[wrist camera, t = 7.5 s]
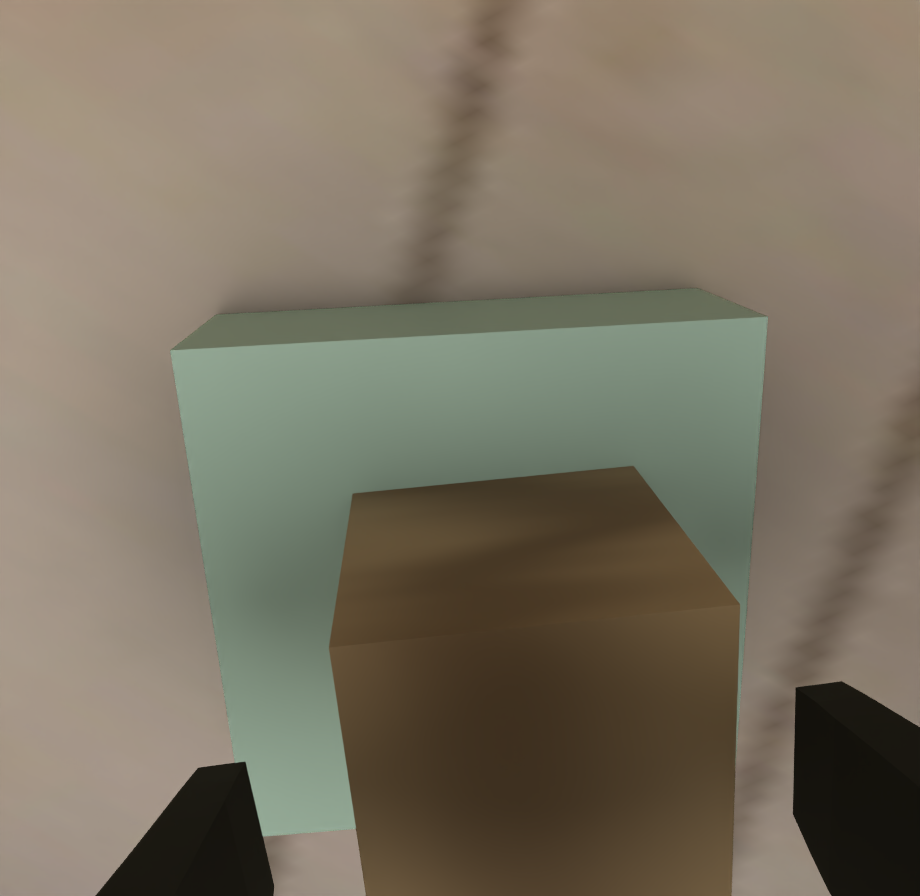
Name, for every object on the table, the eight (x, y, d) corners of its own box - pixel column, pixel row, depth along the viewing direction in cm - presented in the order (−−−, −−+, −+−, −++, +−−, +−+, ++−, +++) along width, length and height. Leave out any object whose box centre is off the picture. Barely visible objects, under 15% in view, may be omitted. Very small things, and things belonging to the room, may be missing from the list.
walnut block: (633, 465, 15) (739, 604, 10) (637, 703, 17) (730, 918, 12) (353, 493, 15) (328, 647, 10) (383, 730, 16) (376, 959, 12)
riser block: (691, 285, 18) (767, 317, 14) (674, 685, 21) (733, 797, 17) (220, 311, 18) (170, 350, 14) (275, 715, 21) (246, 837, 17)
